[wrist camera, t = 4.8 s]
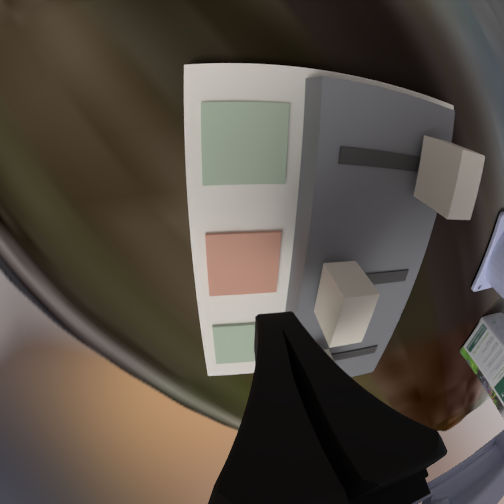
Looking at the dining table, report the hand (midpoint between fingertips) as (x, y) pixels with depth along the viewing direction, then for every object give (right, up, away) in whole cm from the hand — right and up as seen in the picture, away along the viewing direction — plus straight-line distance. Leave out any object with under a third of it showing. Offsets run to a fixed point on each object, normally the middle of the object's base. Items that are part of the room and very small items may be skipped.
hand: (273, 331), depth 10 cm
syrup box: (+28, -7, +15) cm, 33 cm away
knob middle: (+3, +1, +2) cm, 4 cm away
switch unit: (+3, +3, +5) cm, 7 cm away
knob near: (+7, +7, 0) cm, 10 cm away
